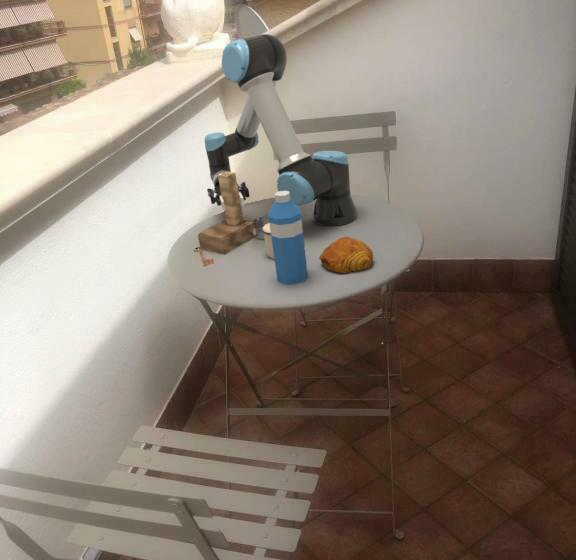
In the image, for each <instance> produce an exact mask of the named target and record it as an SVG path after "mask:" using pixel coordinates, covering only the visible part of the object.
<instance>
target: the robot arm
mask: <svg viewBox="0 0 576 560" xmlns="http://www.w3.org/2000/svg"><path fill="white" fill-rule="evenodd" d="M223 48H224V49H223V51H222V57H221V67H222V72H223V73H224V75H225V77H226V79H227V80H228V81H230V82H231V83H233V84H237V86H238V88H239V90H240V91H242V92H244V93H246V94H247V98H246V100H245V102H244V106H243V108H242V111H241V115H240V117H239V120H238V123H237V125H236V127H235V130H234V132H233V133H230V134H227V135H225V134H224V132H221V131H220V132H218V131H217V132H214V133H209V134H206V135H205V137H204V146H205V147H204V148H205V151H206V156H207V162H208V166H209V176H210V179H211V181H212V184H213V187H214V189H213V188H207V189H206V190H207V196H208V197H209V198H210V203H211V205H214V204H215V203H216V205H217V206H218V207H219V206H220V207H221V208H222V211H224V210H225V205H224V201H223V198H222V195H221V190H220V184H219V179H218V175H220V174H222V173H224V172H232V170H231V165H230V157H232V156H234V155H238V154H240V153H243V152H246V151H247V152H248V151H250V150H252V149H253V148H256V147H257V146H258V144H259V138H260V137H259V134H258V129H259V127H260V125H261V126H262V129H263V130H264V132H265V135H266V138H267V139H268V142H269V144H270V146H271V147H272V150H273V153H274V155H275V157H276V159H277V161H278V164H279V165H278V168H277V170H276V171H277V173H278V175H279V176H278V177H277V180H276V183H277V184H276V187H277V188H276V189H277V192H279V191H289V193H290V199H291V200H292V201H293V202H294V203H295V204H296V205H297V206H298V207H302V206H304V205H307V204H311V203H312V202H313V201H315V202H314V208H313V211H312V212H313V213H312V217H313V218H312V219H313V221H314V222H315V224H317V225H320V226H326V227H327V226H329V227H333V226H335V227H336V226H343V225H345V224H349V223H352V222H353V221H354V220H356V219H357V217H358V211H357V207H356V205H355V203H354V200H353V198H352V196H351V185H350V184H351V183H350V163H349V158H348V155H347V154H346V152H344V151H339V150H321V151H320V150H319V151H316V152H313V154H312V155H311V154H309V153H307V152H305V151H304V149H303V146H302V145H301V142H300V140H299V138H298V136H297V134H296V131H295V129H294V127H293V124H292V123H291V121H290V118H289V116H288V114H287V111H286V109H285V107H284V104H283V102H282V100H281V98H280V95H279V94H278V91H277V89H276V86H277V85H276V84H277V82H279V81H281V80H282V78H283V75H284V74H285V69H286V67H287V61H288V58H287V51H286V48H285V46H284V44H283V42H282V40H280V39H279V38H278V37H276V36H274V35H272V34H268V33H266V34H265V33H264V34H259V35H255V36H250V37H246V38H238V39H236V40H233V41H230V42H229V43H227V44H226V45H225V47H223ZM237 185H238V191H239V198H240V203H241V207H244V206H245V201H246V200H247V199H246V198H250V196H251V195H250V190H249V188H248V187H247V185H246V182H245V181H243V182H241V183H240V184H239V183H237ZM215 194H216V195H215Z"/></svg>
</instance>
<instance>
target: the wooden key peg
mask: <svg viewBox="0 0 576 560" xmlns="http://www.w3.org/2000/svg"><path fill="white" fill-rule="evenodd" d="M236 174H237V173H236V172H235V171H234V172H232V171H231V172H224V173H222V174H220V175H218V179H219V184H220V190H221V195H222V198H223V201H224V205H225V210H223V212H224V216H225V220H226V222H227V225H231V226H236V227H237V226H239V225H241V224H243V223H244V221H243V220H244V216H243V211H242V204H241V202H240V198H239V191H238V185H239V184H238V180H237V175H236ZM237 184H238V185H237Z"/></svg>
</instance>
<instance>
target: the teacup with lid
mask: <svg viewBox="0 0 576 560" xmlns="http://www.w3.org/2000/svg"><path fill="white" fill-rule="evenodd" d="M262 233H263V239H264V245H265V251H266V256H267V258H269V259H272V260H275V259H274V252H273V245H272V238H271V230H270V223H269V222H268V223H266V224H264V225H263V227H262Z"/></svg>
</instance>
